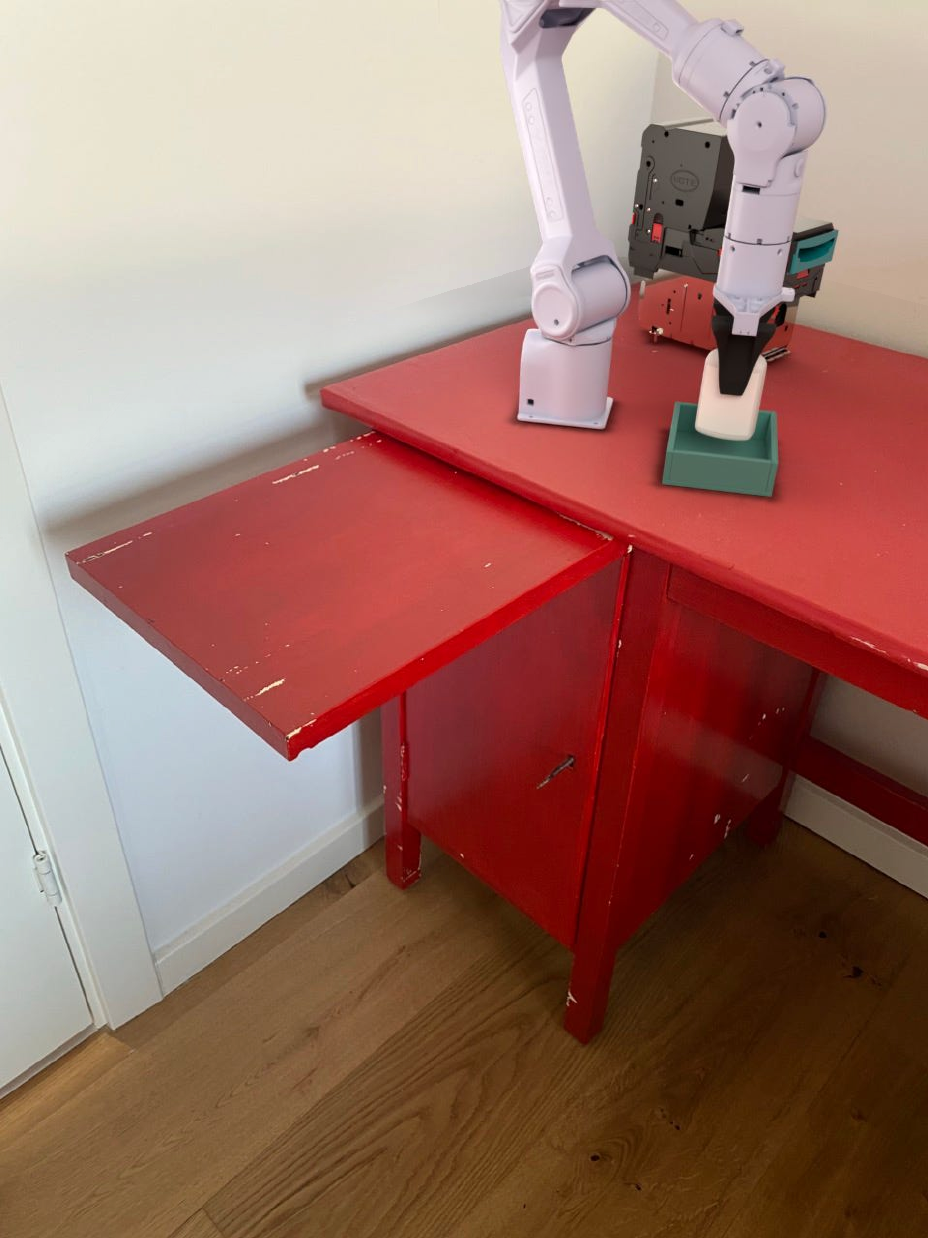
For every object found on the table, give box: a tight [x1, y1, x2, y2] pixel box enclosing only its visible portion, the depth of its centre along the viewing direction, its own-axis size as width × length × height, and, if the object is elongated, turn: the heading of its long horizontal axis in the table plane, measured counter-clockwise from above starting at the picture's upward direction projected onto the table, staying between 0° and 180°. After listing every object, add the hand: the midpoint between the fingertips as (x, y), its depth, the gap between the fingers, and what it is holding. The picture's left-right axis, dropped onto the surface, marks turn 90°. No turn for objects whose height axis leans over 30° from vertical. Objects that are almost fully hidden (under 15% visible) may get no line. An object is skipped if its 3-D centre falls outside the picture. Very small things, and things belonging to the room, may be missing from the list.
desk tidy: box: [661, 401, 779, 498], centre depth 96 cm, size 10×12×4 cm
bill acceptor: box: [627, 115, 840, 363], centre depth 118 cm, size 10×23×25 cm, turn 44°
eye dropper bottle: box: [695, 348, 768, 441], centre depth 92 cm, size 4×6×12 cm
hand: (731, 385), depth 93 cm, fingers closed on eye dropper bottle, 3 cm apart
